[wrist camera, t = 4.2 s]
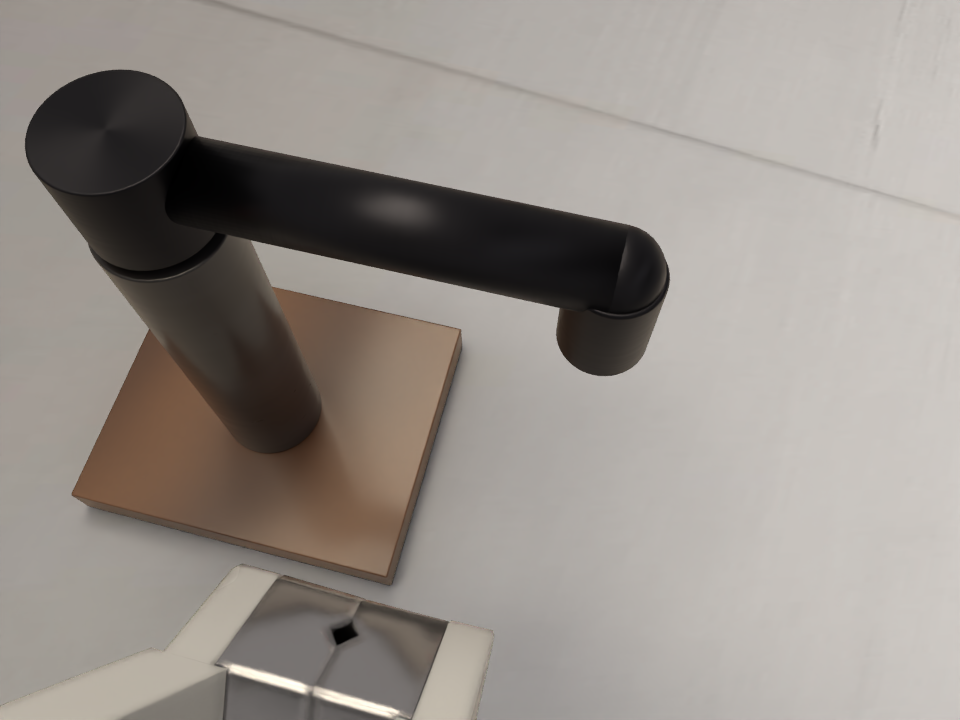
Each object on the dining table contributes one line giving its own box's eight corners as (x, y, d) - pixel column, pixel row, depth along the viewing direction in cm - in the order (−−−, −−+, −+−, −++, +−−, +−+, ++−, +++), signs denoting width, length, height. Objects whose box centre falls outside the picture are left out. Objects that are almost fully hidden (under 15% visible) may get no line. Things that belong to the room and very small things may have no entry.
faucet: (87, 506, 33) (-169, 341, 20) (189, 283, 37) (32, 29, 24) (391, 586, 31) (324, 463, 19) (462, 345, 35) (447, 110, 23)
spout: (83, 282, 22) (-5, 176, 18) (139, 175, 23) (67, 56, 19) (634, 409, 20) (668, 324, 16) (658, 286, 21) (695, 180, 18)
